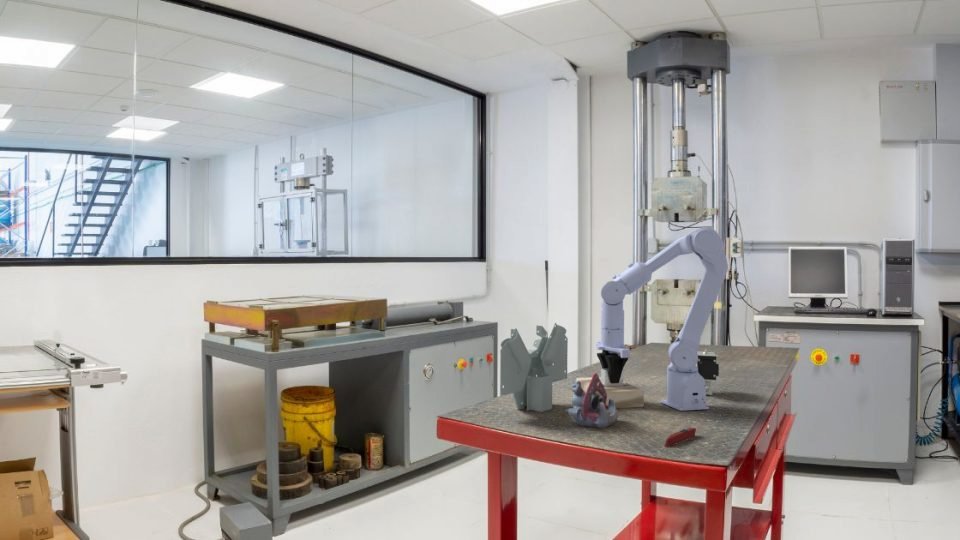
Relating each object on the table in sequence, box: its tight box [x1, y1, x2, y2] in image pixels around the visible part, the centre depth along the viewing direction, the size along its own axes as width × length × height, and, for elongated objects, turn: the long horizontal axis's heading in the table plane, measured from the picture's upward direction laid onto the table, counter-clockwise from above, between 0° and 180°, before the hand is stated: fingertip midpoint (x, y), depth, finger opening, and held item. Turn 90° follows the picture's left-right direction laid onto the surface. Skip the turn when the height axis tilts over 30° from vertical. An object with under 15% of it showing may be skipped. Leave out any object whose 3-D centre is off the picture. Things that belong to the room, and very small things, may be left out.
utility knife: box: [664, 427, 697, 448], centre depth 122 cm, size 12×1×2 cm, turn 133°
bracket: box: [499, 322, 569, 413], centre depth 148 cm, size 28×7×20 cm, turn 139°
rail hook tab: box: [600, 367, 624, 387], centre depth 155 cm, size 2×5×7 cm, turn 104°
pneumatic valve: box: [695, 348, 720, 396], centre depth 164 cm, size 6×12×12 cm, turn 163°
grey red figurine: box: [565, 372, 618, 429], centre depth 135 cm, size 11×11×12 cm
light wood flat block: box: [575, 376, 645, 409], centre depth 157 cm, size 18×10×4 cm, turn 14°
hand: (611, 381), depth 155 cm, fingers closed on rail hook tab, 2 cm apart
